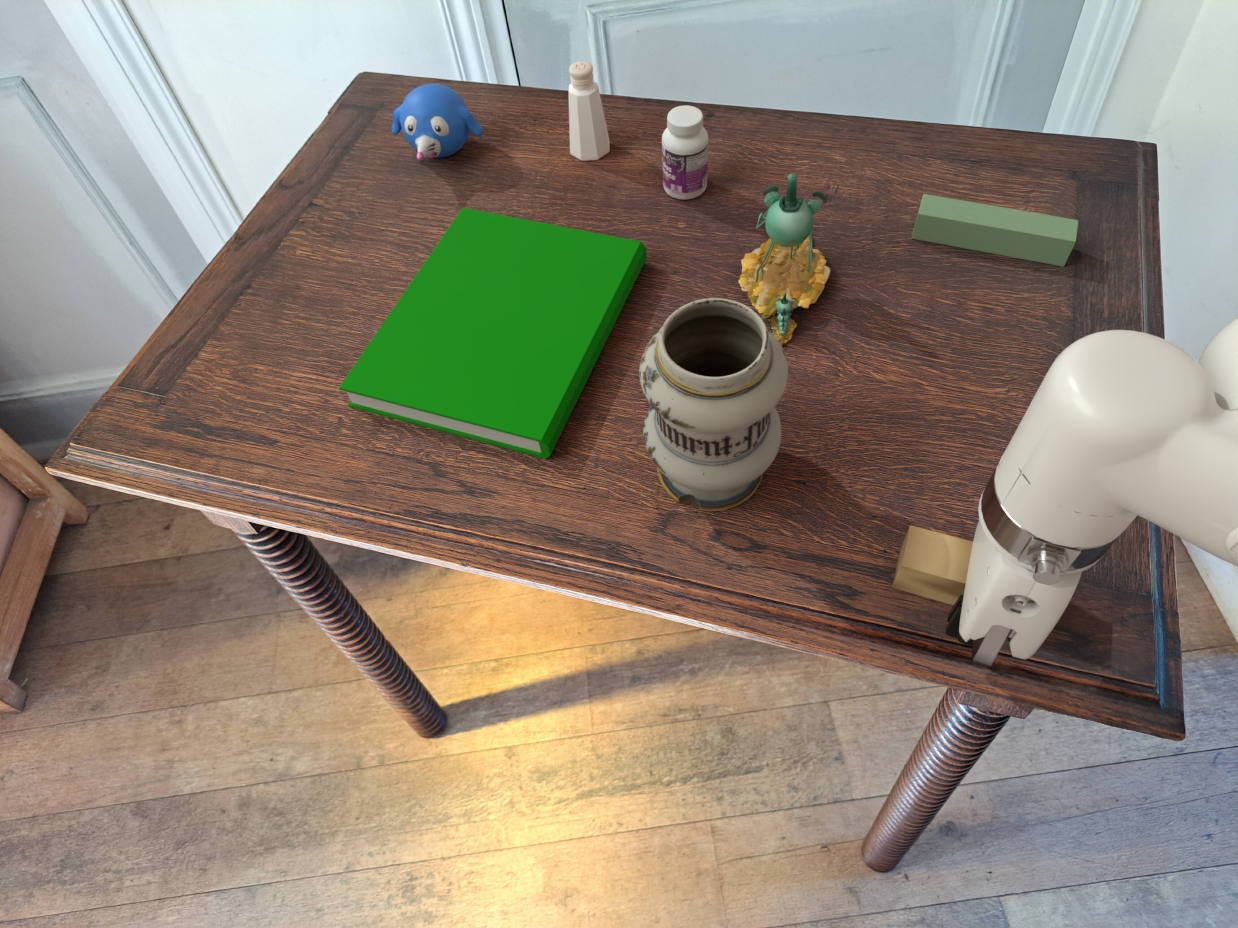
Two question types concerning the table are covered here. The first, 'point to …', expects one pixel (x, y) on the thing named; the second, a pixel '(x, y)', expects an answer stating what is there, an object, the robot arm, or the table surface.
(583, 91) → the salt shaker
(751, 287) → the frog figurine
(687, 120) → the pill bottle
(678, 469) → the apothecary jar
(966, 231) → the green bar
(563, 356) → the book
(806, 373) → the table surface
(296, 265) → the table surface
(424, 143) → the blue mole toy
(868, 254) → the table surface
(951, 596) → the brass block
